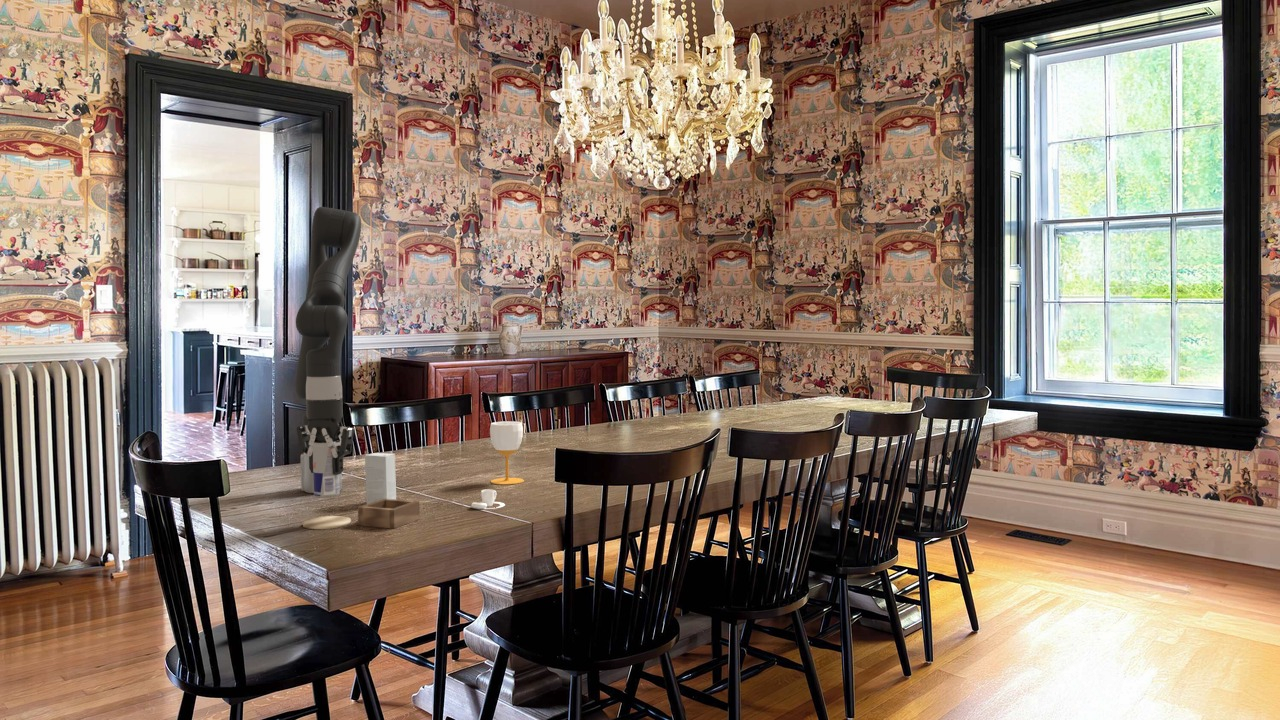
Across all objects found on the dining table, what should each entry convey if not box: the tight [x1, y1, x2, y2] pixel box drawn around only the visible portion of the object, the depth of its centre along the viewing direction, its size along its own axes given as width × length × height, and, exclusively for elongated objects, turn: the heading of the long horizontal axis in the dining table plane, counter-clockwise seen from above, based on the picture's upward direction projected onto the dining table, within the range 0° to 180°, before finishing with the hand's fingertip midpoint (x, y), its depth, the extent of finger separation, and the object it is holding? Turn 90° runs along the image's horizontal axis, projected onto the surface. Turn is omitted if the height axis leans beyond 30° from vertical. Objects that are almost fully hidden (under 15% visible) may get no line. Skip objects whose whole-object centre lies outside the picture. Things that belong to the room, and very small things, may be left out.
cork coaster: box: [302, 515, 352, 530], centre depth 200 cm, size 10×10×1 cm
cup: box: [489, 420, 525, 486], centre depth 247 cm, size 9×9×16 cm
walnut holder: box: [357, 498, 421, 529], centre depth 201 cm, size 9×9×4 cm
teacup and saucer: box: [470, 488, 506, 510], centre depth 217 cm, size 9×8×4 cm
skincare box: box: [364, 452, 397, 504], centre depth 221 cm, size 6×4×12 cm
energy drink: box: [313, 441, 341, 499], centre depth 200 cm, size 5×5×12 cm
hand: (326, 473), depth 200 cm, fingers closed on energy drink, 5 cm apart
